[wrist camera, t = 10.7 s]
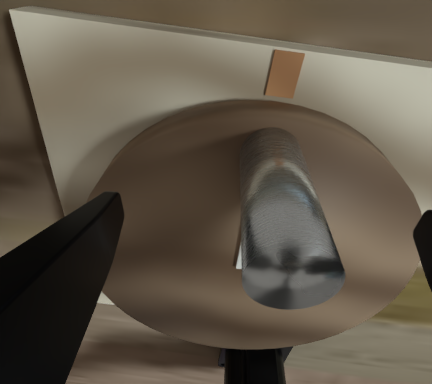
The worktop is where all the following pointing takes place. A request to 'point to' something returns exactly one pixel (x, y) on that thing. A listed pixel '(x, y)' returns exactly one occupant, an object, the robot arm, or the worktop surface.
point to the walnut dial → (257, 226)
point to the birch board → (204, 90)
